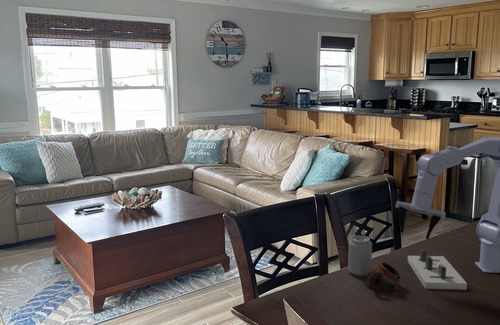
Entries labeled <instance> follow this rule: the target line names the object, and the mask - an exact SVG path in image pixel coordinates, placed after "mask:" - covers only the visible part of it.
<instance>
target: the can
mask: <svg viewBox="0 0 500 325" xmlns="http://www.w3.org/2000/svg"><path fill="white" fill-rule="evenodd" d="M372 254H373V242H372V241H371V238H370V237H368V236H366V235H353V236H351V237H350V240H349V241H348V257H347V258H348V261H347V262H348V263H347V264H348V268H347V270H348V272H349V273H350V274H351V275H353V276H356V277H367V276H368V273H369V271H370V269H371V268H372V265H373V264H372V262H373V261H372V260H373V256H372Z"/></svg>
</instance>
